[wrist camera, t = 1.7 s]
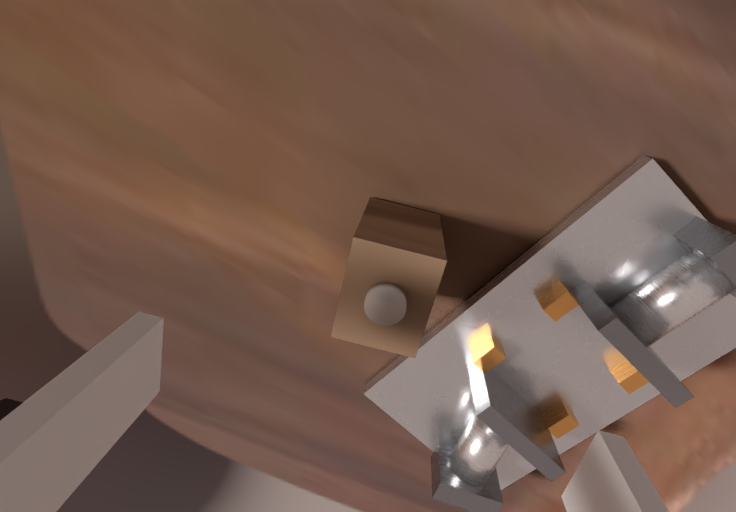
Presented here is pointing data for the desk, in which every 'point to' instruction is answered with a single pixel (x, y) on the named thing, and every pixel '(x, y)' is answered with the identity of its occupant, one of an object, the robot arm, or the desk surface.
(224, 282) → the desk surface
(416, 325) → the block
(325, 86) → the desk surface
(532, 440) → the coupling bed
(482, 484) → the shaft
